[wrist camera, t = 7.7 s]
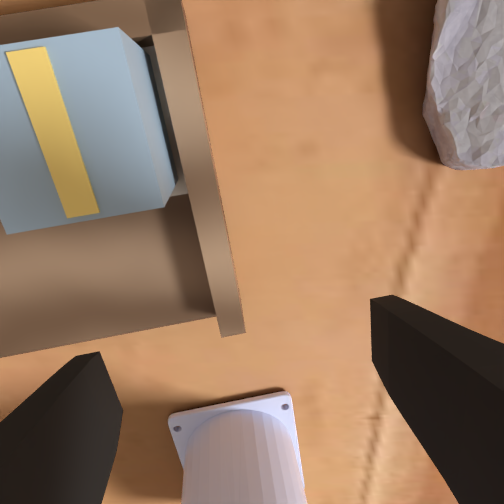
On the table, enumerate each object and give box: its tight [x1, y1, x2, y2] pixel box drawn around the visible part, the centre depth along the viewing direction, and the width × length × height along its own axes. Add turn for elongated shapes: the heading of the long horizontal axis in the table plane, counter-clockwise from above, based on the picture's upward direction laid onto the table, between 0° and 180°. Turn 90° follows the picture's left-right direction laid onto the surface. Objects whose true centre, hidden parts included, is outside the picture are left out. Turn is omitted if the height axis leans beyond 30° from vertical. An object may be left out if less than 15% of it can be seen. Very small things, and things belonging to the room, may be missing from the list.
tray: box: [0, 0, 246, 358], centre depth 16 cm, size 14×14×3 cm
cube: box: [0, 27, 178, 235], centre depth 12 cm, size 5×5×5 cm
